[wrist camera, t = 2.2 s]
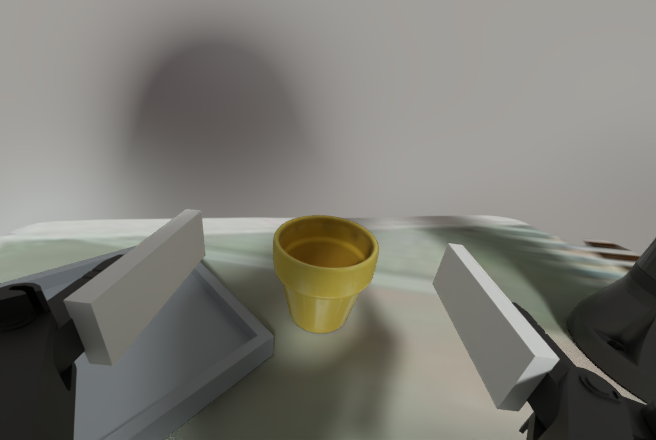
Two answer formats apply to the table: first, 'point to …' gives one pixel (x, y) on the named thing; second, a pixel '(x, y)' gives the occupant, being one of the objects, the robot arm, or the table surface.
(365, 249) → the plant pot
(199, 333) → the tray
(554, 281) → the table surface
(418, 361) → the table surface
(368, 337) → the table surface
